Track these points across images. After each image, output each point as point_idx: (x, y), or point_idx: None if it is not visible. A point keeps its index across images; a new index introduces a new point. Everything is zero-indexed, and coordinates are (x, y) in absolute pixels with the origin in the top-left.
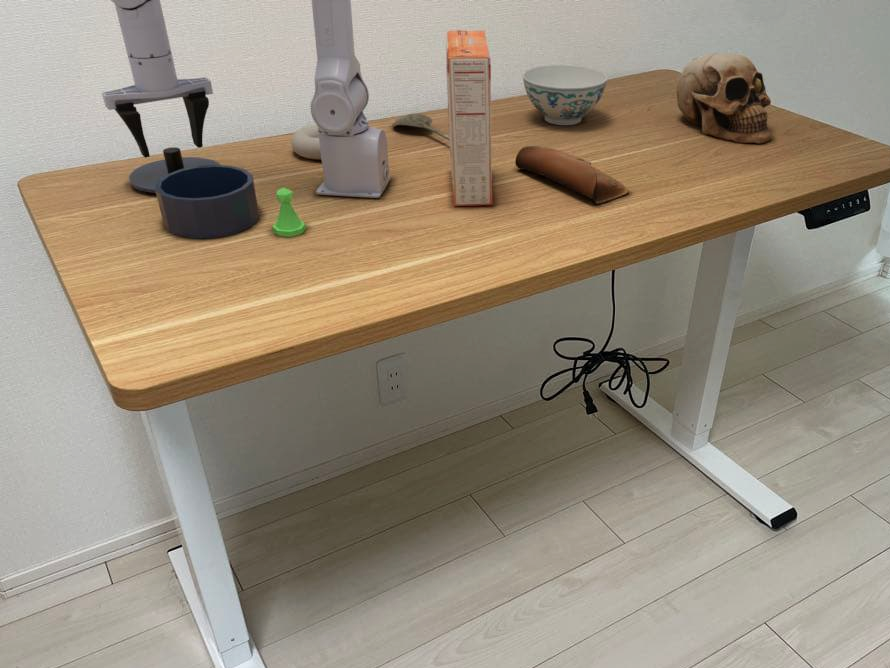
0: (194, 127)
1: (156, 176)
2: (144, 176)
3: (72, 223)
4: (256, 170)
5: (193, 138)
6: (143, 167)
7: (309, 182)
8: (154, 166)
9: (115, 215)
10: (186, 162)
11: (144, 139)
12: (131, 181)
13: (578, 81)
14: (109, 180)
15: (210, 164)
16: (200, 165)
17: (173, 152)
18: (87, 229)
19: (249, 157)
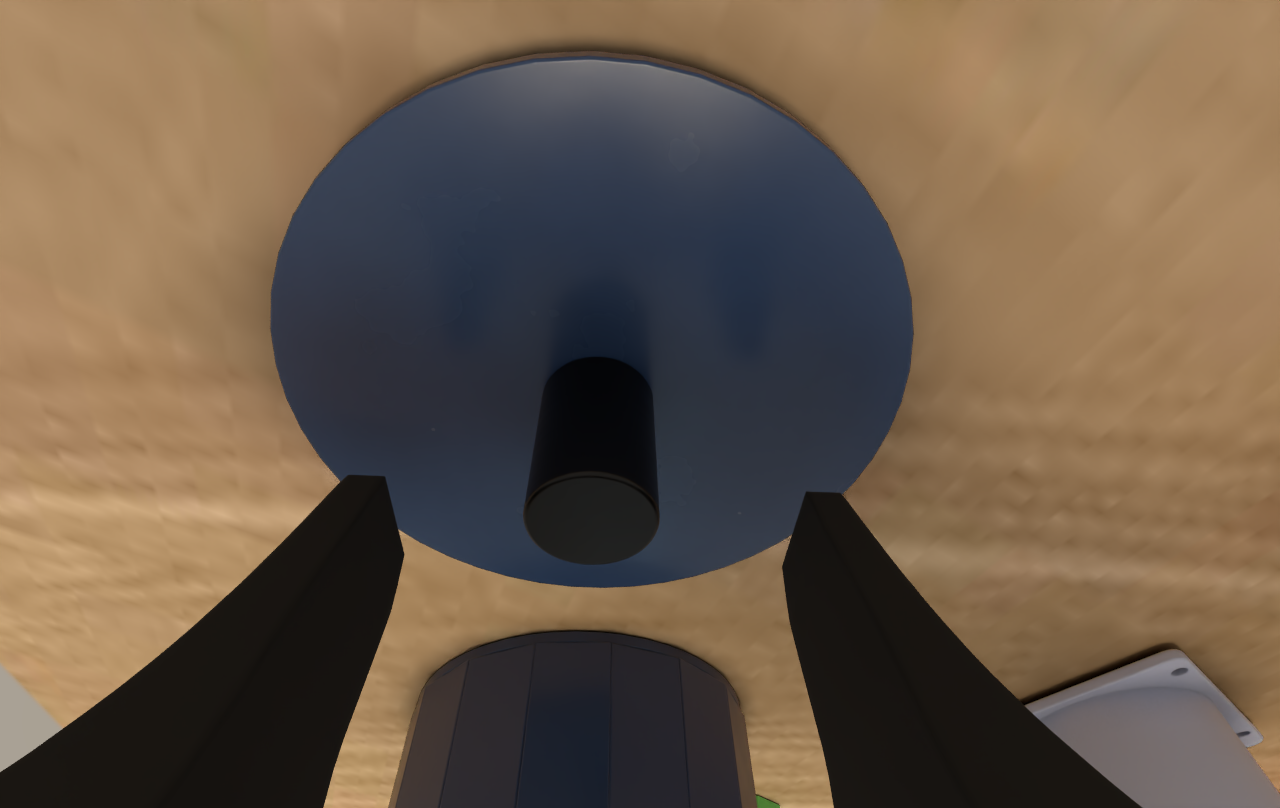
0: (835, 708)
1: (460, 393)
2: (382, 355)
3: (29, 570)
4: (1029, 458)
5: (813, 549)
6: (393, 170)
7: (1056, 647)
8: (485, 201)
9: (225, 581)
10: (739, 253)
11: (346, 714)
12: (289, 387)
13: None
14: (110, 105)
15: (849, 380)
16: (788, 362)
17: (587, 564)
18: (118, 630)
19: (1206, 245)
